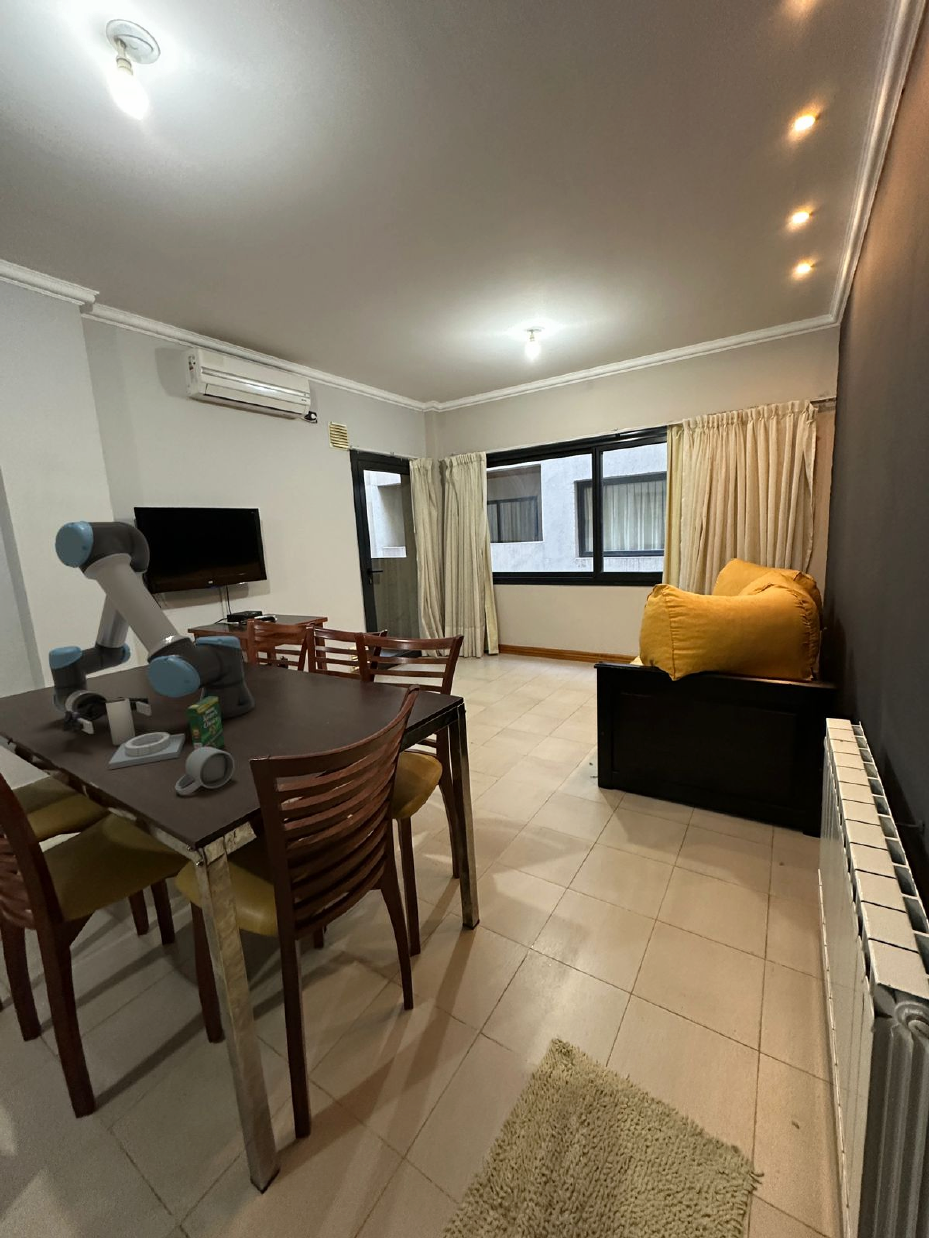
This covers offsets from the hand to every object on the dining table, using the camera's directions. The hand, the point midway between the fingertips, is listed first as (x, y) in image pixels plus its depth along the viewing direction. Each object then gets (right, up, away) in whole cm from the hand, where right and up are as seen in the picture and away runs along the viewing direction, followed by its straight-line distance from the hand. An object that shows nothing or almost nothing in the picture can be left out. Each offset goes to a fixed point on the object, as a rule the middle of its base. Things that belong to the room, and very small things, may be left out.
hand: (121, 718), depth 128 cm
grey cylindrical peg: (-1, -6, +2) cm, 6 cm away
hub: (+11, -7, -6) cm, 15 cm away
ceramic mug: (+34, -10, -23) cm, 42 cm away
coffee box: (+27, -7, -7) cm, 28 cm away
